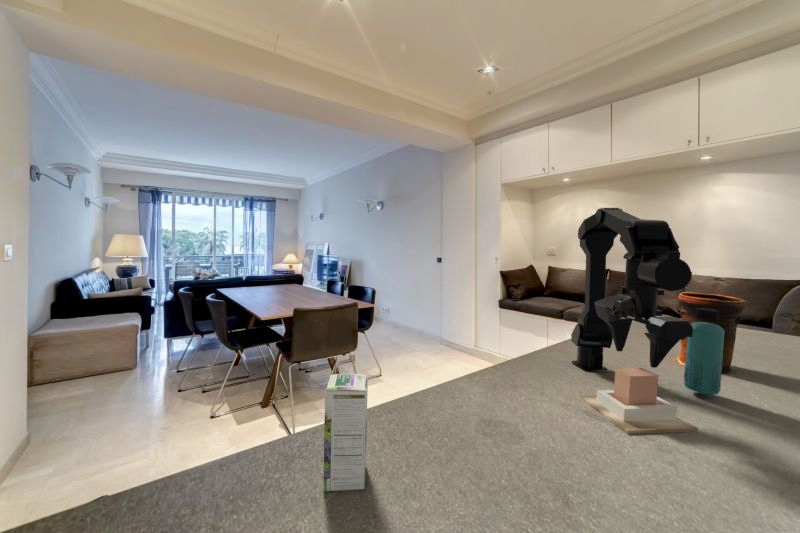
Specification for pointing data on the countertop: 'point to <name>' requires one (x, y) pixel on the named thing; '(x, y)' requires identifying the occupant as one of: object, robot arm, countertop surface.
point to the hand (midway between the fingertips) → (635, 358)
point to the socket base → (641, 426)
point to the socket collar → (636, 408)
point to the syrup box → (345, 432)
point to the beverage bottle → (704, 354)
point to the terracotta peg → (635, 386)
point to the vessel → (727, 320)
